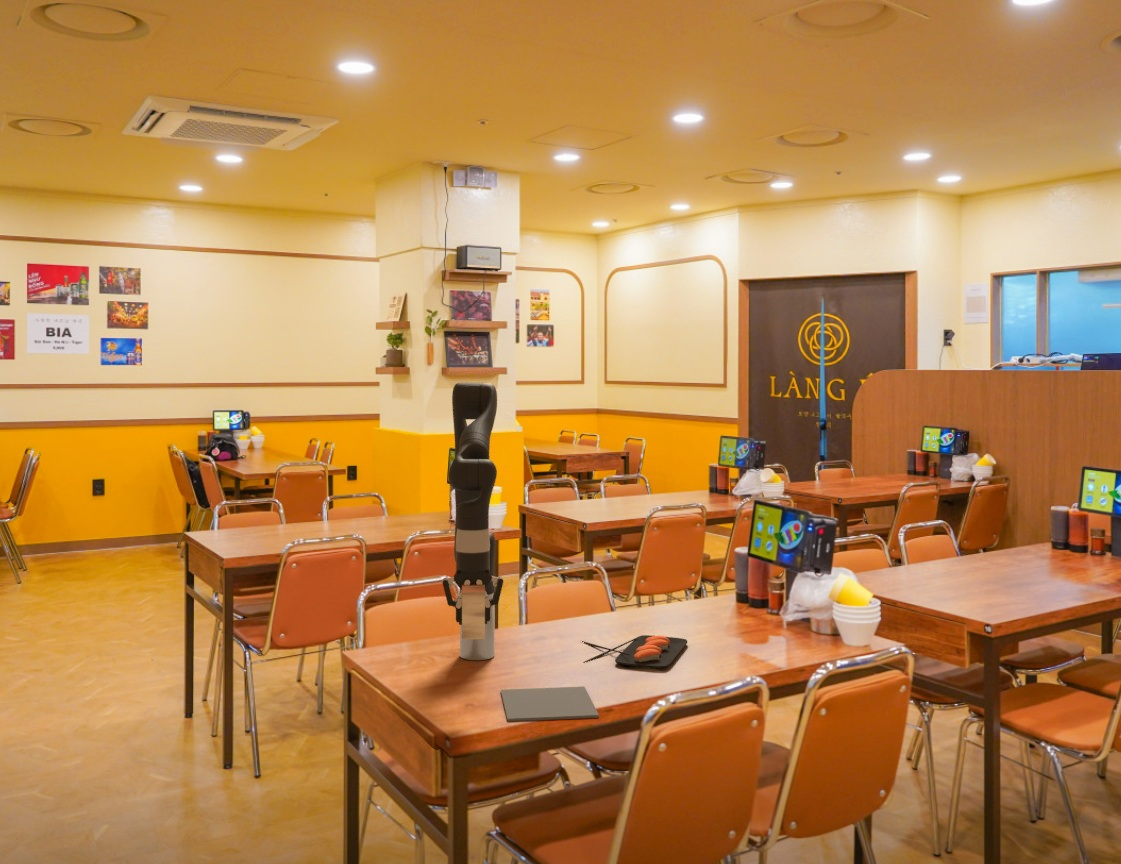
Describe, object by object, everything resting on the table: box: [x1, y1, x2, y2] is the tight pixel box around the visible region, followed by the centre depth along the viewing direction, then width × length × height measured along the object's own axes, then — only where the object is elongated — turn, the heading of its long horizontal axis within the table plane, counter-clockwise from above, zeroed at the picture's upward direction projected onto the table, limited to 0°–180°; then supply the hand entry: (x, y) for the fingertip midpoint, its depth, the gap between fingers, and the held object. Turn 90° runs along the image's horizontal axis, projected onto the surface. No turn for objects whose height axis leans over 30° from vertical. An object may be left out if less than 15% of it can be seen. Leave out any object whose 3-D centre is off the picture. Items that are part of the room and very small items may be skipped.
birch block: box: [461, 584, 485, 640], centre depth 219 cm, size 5×5×12 cm
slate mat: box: [500, 686, 600, 722], centre depth 222 cm, size 20×20×1 cm
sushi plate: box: [581, 634, 688, 669], centre depth 265 cm, size 29×30×4 cm
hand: (472, 623), depth 219 cm, fingers closed on birch block, 5 cm apart
